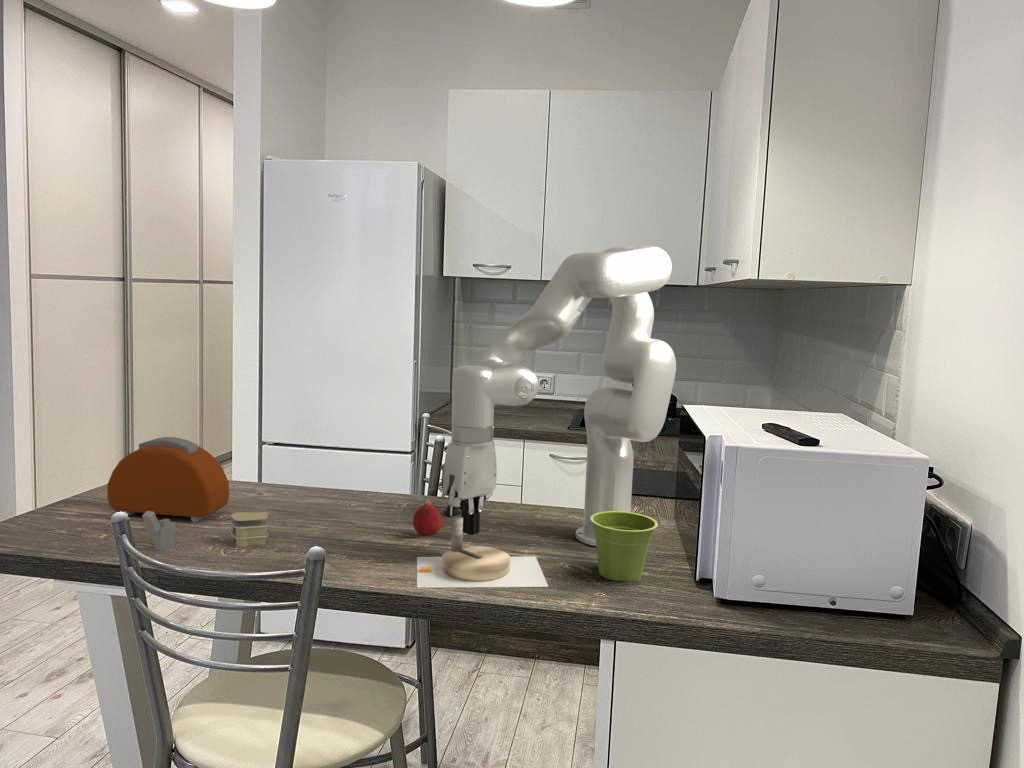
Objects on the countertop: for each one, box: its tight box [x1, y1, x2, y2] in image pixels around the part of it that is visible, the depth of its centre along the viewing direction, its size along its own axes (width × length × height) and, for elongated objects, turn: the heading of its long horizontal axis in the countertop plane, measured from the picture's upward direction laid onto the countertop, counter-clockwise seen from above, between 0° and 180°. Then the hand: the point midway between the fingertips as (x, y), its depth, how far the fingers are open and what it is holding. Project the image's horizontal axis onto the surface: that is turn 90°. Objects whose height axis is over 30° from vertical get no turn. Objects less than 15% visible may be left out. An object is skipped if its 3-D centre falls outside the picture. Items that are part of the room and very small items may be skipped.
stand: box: [416, 556, 549, 589], centre depth 141 cm, size 22×15×2 cm
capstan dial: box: [441, 515, 511, 580], centre depth 141 cm, size 12×12×8 cm
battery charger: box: [441, 467, 461, 517], centre depth 181 cm, size 7×4×11 cm, turn 161°
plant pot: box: [590, 511, 659, 582], centre depth 142 cm, size 12×12×11 cm
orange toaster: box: [106, 436, 230, 523], centre depth 171 cm, size 23×9×17 cm, turn 82°
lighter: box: [141, 511, 177, 552], centre depth 150 cm, size 7×2×8 cm, turn 165°
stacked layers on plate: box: [230, 511, 269, 547], centre depth 156 cm, size 10×9×6 cm
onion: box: [412, 499, 443, 538], centre depth 161 cm, size 6×6×8 cm
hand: (470, 532), depth 147 cm, fingers closed
